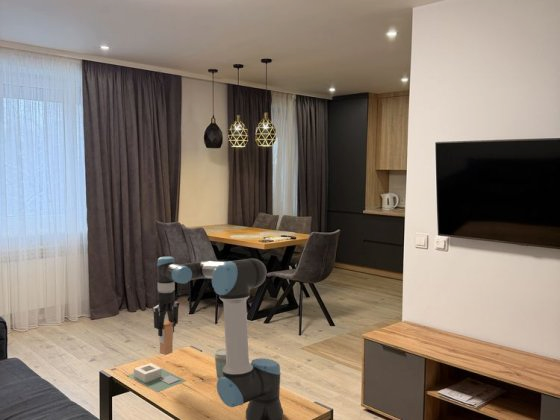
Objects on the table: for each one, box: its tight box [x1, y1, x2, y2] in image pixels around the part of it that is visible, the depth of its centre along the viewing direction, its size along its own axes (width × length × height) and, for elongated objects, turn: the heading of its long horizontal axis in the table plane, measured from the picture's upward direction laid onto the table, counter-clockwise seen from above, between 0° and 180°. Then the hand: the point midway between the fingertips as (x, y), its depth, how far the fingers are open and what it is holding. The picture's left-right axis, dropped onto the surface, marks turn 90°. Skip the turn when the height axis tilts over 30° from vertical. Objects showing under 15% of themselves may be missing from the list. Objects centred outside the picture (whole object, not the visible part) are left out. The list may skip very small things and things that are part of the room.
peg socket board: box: [126, 362, 187, 393], centre depth 226 cm, size 24×16×6 cm, turn 49°
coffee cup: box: [213, 348, 226, 379], centre depth 233 cm, size 8×8×12 cm
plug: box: [159, 319, 173, 356], centre depth 223 cm, size 5×5×14 cm
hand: (166, 341), depth 223 cm, fingers closed on plug, 4 cm apart
